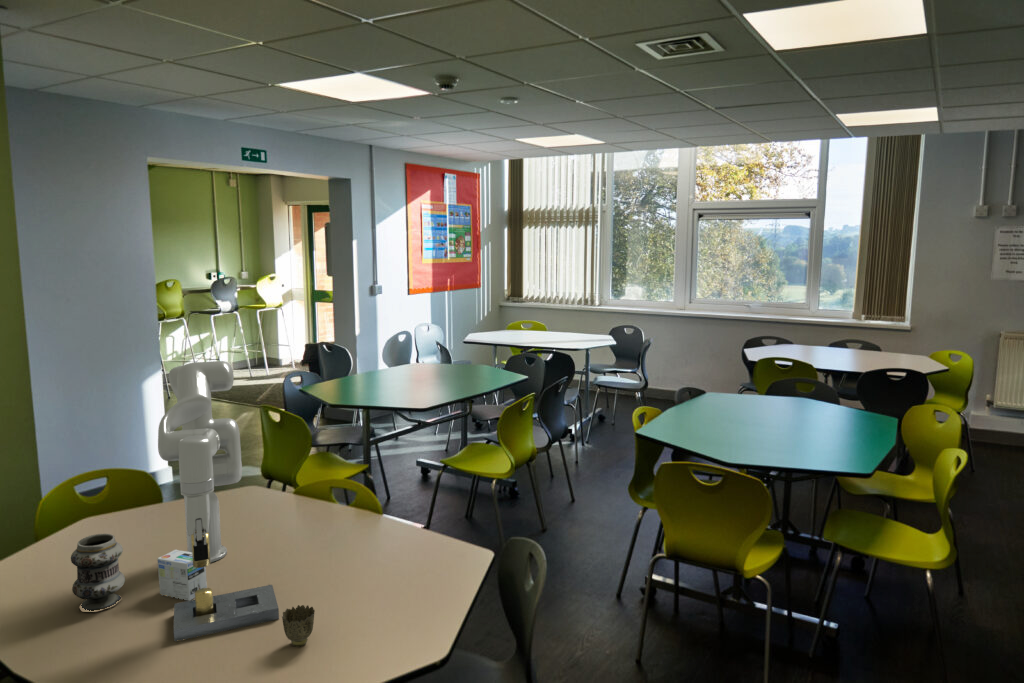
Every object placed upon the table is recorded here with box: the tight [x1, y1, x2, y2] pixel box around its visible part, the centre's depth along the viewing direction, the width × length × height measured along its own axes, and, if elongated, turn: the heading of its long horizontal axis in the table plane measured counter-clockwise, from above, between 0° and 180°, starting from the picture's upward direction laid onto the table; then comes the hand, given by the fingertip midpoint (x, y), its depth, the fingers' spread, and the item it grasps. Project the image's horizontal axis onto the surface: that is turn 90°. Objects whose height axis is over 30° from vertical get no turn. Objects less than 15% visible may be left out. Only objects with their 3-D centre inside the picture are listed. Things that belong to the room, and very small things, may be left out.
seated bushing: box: [194, 587, 214, 617], centre depth 172 cm, size 4×4×8 cm
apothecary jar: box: [70, 533, 126, 611], centre depth 181 cm, size 12×12×18 cm
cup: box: [281, 604, 316, 648], centre depth 162 cm, size 8×7×8 cm
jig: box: [173, 584, 280, 642], centre depth 175 cm, size 14×24×3 cm, turn 116°
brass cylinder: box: [191, 531, 211, 568], centre depth 171 cm, size 4×4×8 cm
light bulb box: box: [156, 549, 208, 601], centre depth 187 cm, size 11×7×11 cm, turn 71°
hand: (201, 555), depth 172 cm, fingers closed on brass cylinder, 4 cm apart
